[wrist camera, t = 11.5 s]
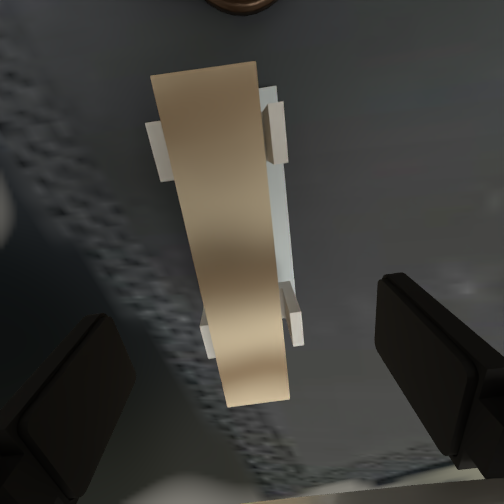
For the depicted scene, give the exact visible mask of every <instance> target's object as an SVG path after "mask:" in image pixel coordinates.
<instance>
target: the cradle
mask: <svg viewBox="0 0 504 504" xmlns="http://www.w3.org/2000/svg"><path fill="white" fill-rule="evenodd" d="M259 97H260V107H261V117H262V127H263V137H264V147H265V157H266V166H267V176H268V186H269V196H270V206H271V216H272V226H273V236H274V246H275V256H276V265H277V275H278V285H279V295H280V305H281V315H282V318H286V321H287V325H288V328H289V332H290V336H291V340H292V344H293V346H300V345H304V340H303V328H302V316H301V310H300V307H299V304H298V302H297V299H296V294H295V283H294V272H293V262H292V251H291V240H290V229H289V218H288V207H287V196H286V185H285V175H284V164H283V163H288V151H287V139H286V128H285V116H284V104H283V101H282V102H278V98H277V88H276V86H271V87H264V88H259ZM145 126H146V129H147V133H148V137H149V141H150V144H151V148H152V152H153V155H154V159H155V163H156V166H157V170H158V174H159V178H160V181H161V182H165V181H172V180H174V176H173V172H172V168H171V163H170V159H169V155H168V151H167V146H166V142H165V138H164V133H163V129H162V125H161V121H155V122H148V123H145ZM200 329H201V333H202V337H203V341H204V344H205V348H206V352H207V355H208V359H210V358H216V356H215V351H214V347H213V343H212V338H211V334H210V330H209V326H208V321H207V317H206V313H205V309H203V313H202V318H201V323H200Z"/></svg>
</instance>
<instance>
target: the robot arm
mask: <svg viewBox="0 0 504 504" xmlns="http://www.w3.org/2000/svg"><path fill="white" fill-rule="evenodd" d="M375 346H376V349H377V351H378V353H379V355H380V356H381V358H382V360H383V361H384V363H385V364H386V366H387V368H388V369H389V371H390V372H391V374H392V376H393V377H394V379H395V380H396V382H397V384H398V385H399V387H400V388H401V390H402V392H403V393H404V395H405V396H406V398H407V400H408V401H409V403H410V404H411V406H412V408H413V409H414V411H415V412H416V414H417V416H418V417H419V419H420V420H421V422H422V424H423V425H424V427H425V428H426V430H427V432H428V433H429V435H430V436H431V438H432V440H433V441H434V443H435V444H436V446H437V448H438V449H439V450H440V452H441V453H442V454H443V455H445V456H449V457H450V458H451V460H452V461H453V463H454V464H455V466H456V468H457V469H458V470H461V469H470V468H478V469H479V471H480V472H481V474H482V475H483V476H484V478H485V479H482V480H470V481H458V482H446V483H434V484H423V485H411V486H402V487H392V488H383V489H373V490H363V491H354V492H345V493H335V494H325V495H316V496H306V497H297V498H287V499H278V500H269V501H260V502H251V503H242V504H504V357H503V356H502V355H501V354H500V353H499V352H497V351H496V350H495V349H494V348H493V347H491V346H490V345H489V344H488V343H487V342H486V341H484V340H483V339H482V338H481V337H480V336H478V335H477V334H476V333H475V332H474V331H472V330H471V329H470V328H469V327H468V326H467V325H465V324H464V323H463V322H462V321H461V320H459V319H458V318H457V317H456V316H455V315H453V314H452V313H451V312H450V311H449V310H448V309H446V308H445V307H444V306H443V305H442V304H440V303H439V302H438V301H437V300H436V299H434V298H433V297H432V296H431V295H430V294H428V293H427V292H426V291H425V290H424V289H423V288H421V287H420V286H419V285H418V284H417V283H415V282H414V281H413V280H412V279H411V278H409V277H408V276H407V275H406V274H405V273H394V274H386V275H384V276H383V278H382V279H381V280H379V281H378V288H377V306H376V324H375ZM135 380H136V372H135V370H134V367H133V365H132V363H131V360H130V358H129V356H128V353H127V351H126V349H125V346H124V344H123V342H122V340H121V337H120V335H119V333H118V330H117V328H116V326H115V324H114V321H113V319H112V318H111V317H108V316H107V315H106V314H104V313H100V314H93V315H87V316H85V317H84V318H83V319H82V320H81V321H80V322H79V323H78V324H77V325H76V326H75V328H74V329H73V330H72V331H71V332H70V333H69V334H68V335H67V336H66V338H65V339H64V340H63V341H62V342H61V343H60V344H59V346H57V348H56V349H55V350H54V351H53V352H52V353H51V354H50V355H49V356H48V358H47V359H46V360H45V361H44V362H43V363H42V364H41V365H40V367H39V368H38V369H37V370H36V371H35V372H34V373H33V375H31V377H30V378H29V379H28V380H27V381H26V382H25V383H24V384H23V385H22V387H21V388H20V389H19V390H18V391H17V392H16V393H15V395H13V397H12V398H11V399H10V400H9V401H8V402H7V403H6V404H5V405H4V407H3V408H2V409H1V410H0V504H76V503H77V501H78V499H79V497H81V496H83V495H84V493H85V492H86V490H87V488H88V486H89V484H90V482H91V479H92V477H93V475H94V473H95V470H96V468H97V466H98V464H99V461H100V459H101V457H102V454H103V453H104V450H105V448H106V446H107V444H108V441H109V439H110V437H111V435H112V433H113V430H114V428H115V426H116V424H117V421H118V419H119V417H120V415H121V412H122V410H123V408H124V406H125V403H126V401H127V399H128V397H129V394H130V392H131V390H132V388H133V386H134V383H135Z"/></svg>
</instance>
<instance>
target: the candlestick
mask: <svg viewBox="0 0 504 504" xmlns="http://www.w3.org/2000/svg"><path fill="white" fill-rule="evenodd" d="M205 1H206V2H207V3H208V4H209V5H211V6H212V7H214V8H216V9H218V10H219V11H221V12H224V13H227V14H231V15H239V16H247V15H252V14H257V13H259V12H261V11H263V10H265V9H267V8H269V7H270V6H271V5H273V4H274V3H275V2H277V1H278V0H205Z"/></svg>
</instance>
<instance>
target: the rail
mask: <svg viewBox="0 0 504 504" xmlns="http://www.w3.org/2000/svg"><path fill="white" fill-rule="evenodd" d="M150 78H151V82H152V86H153V91H154V95H155V99H156V104H157V108H158V112H159V116H160V121H161V125H162V129H163V133H164V138H165V142H166V146H167V151H168V155H169V159H170V163H171V168H172V172H173V176H174V180H175V185H176V189H177V193H178V198H179V202H180V206H181V210H182V215H183V219H184V223H185V227H186V232H187V236H188V240H189V245H190V249H191V253H192V257H193V262H194V266H195V270H196V274H197V279H198V283H199V287H200V292H201V296H202V300H203V304H204V309H205V313H206V317H207V321H208V326H209V330H210V334H211V338H212V343H213V347H214V351H215V356H216V360H217V364H218V368H219V373H220V377H221V381H222V385H223V390H224V394H225V398H226V403H227V407H234V406H242V405H249V404H257V403H265V402H273V401H280V400H288V399H290V394H289V384H288V374H287V364H286V355H285V345H284V335H283V325H282V315H281V305H280V295H279V285H278V275H277V265H276V256H275V246H274V236H273V226H272V216H271V206H270V196H269V186H268V176H267V166H266V157H265V147H264V137H263V127H262V117H261V107H260V97H259V87H258V77H257V67H256V61H252V62H245V63H238V64H230V65H223V66H216V67H209V68H202V69H195V70H188V71H180V72H173V73H166V74H159V75H152V76H150Z"/></svg>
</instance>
